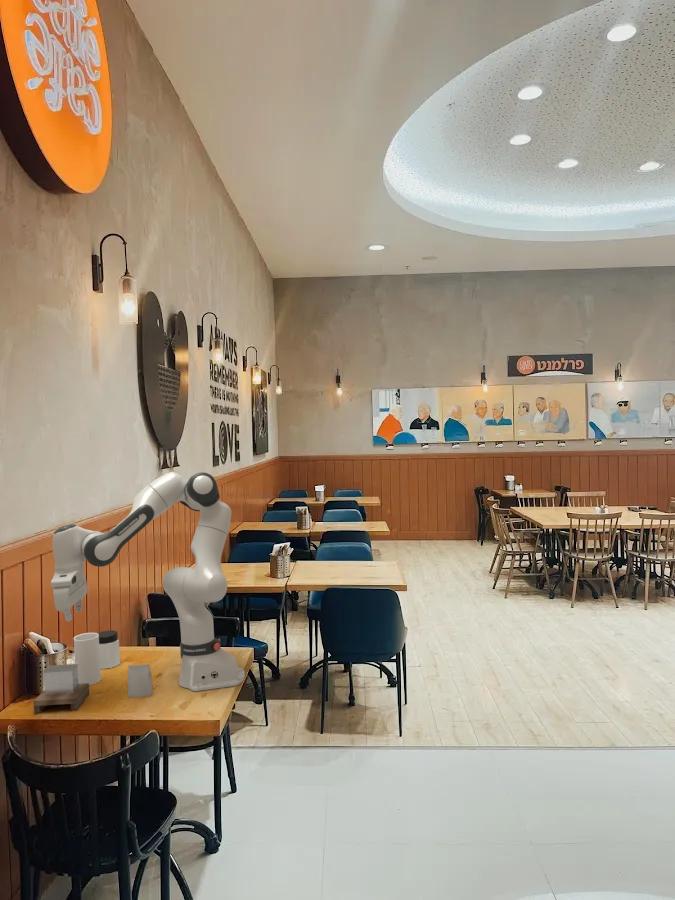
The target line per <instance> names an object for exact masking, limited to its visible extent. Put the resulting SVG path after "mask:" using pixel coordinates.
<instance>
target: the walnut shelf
mask: <svg viewBox="0 0 675 900" xmlns="http://www.w3.org/2000/svg"><path fill="white" fill-rule="evenodd" d="M90 695H91V694H90V685H89V683H84V684H79V688H78V690H77V691H76V692H75V693H74V694H63V695H46V696H45V689H44V690H43V691H42V692H41V693H40V694H39V695H38V696H37V697H36V698H35V699H34V700H33V712H34V713H33V714H41V712H42V711H43V710H44V709H45V708H46V707H47V706H55V705H56V706H57V705H58V706H59V705H70V712H77V711H78V710H79V708H80V707H81V706H82V705H83V703H84V702H85V701H86V700H87V699H88V698H87V697H89V696H90ZM86 698H87V699H86ZM85 699H86V700H85Z"/></svg>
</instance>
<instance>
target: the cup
mask: <svg viewBox="0 0 675 900" xmlns="http://www.w3.org/2000/svg"><path fill="white" fill-rule="evenodd" d="M98 633H99V632H85V633H80V634H77V635H75V636H74V637H73V648H74V649H73V652H74V664H78V666H77V667H78V683H79V684H84V683H89V686H91V685H95V684H97V682H98V683H100V682H101V681H100V680H102V669H101V666H100V650H99V635H98Z"/></svg>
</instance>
